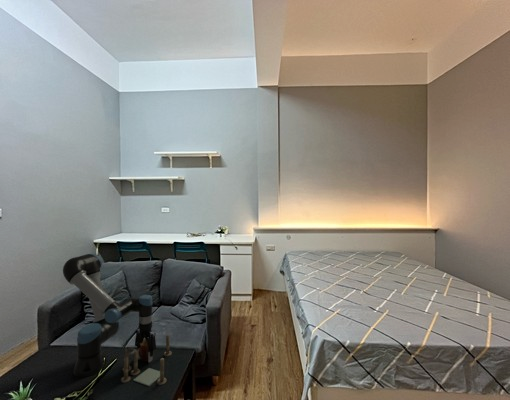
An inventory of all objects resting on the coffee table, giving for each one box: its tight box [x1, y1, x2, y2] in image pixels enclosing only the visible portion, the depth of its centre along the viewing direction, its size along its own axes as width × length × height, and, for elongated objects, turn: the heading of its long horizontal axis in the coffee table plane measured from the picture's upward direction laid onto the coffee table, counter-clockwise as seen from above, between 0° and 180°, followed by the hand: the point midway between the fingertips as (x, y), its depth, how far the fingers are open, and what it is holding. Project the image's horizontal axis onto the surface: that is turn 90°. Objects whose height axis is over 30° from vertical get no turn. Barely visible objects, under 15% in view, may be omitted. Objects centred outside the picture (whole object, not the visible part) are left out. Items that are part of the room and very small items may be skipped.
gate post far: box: [163, 333, 173, 357], centre depth 168 cm, size 5×5×12 cm
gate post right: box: [156, 357, 168, 386], centre depth 143 cm, size 5×5×12 cm
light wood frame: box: [120, 346, 141, 383], centre depth 148 cm, size 11×11×13 cm
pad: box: [133, 367, 160, 387], centre depth 146 cm, size 11×11×1 cm
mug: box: [139, 338, 155, 362], centre depth 162 cm, size 12×9×10 cm
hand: (145, 359), depth 162 cm, fingers closed on mug, 7 cm apart
